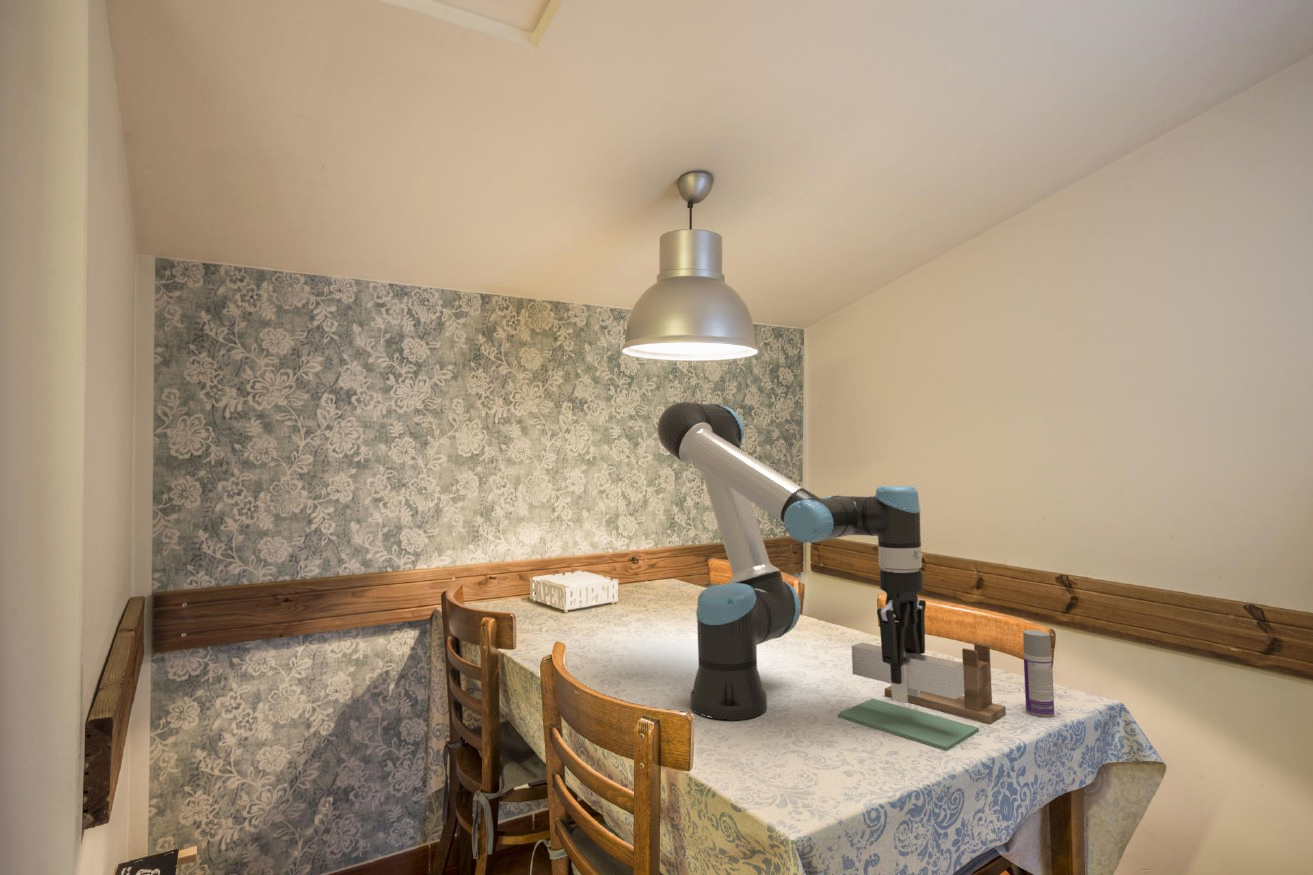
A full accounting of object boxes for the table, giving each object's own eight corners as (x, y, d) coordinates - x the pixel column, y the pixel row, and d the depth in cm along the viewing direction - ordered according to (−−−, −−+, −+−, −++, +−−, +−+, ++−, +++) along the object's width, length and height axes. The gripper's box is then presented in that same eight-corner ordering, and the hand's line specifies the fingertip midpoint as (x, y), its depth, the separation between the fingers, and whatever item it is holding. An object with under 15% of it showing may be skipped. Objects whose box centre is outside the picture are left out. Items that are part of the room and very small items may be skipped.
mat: (946, 750, 111) (946, 746, 111) (838, 716, 127) (838, 713, 127) (978, 730, 119) (978, 727, 119) (872, 701, 135) (872, 698, 135)
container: (1028, 706, 130) (1025, 628, 131) (1056, 711, 127) (1052, 631, 128) (1023, 713, 127) (1020, 633, 127) (1052, 719, 124) (1048, 636, 124)
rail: (954, 699, 115) (953, 667, 115) (852, 674, 130) (851, 645, 130) (964, 694, 117) (963, 662, 117) (863, 670, 132) (861, 642, 132)
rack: (989, 724, 122) (986, 654, 123) (884, 695, 138) (882, 634, 138) (1005, 714, 127) (1003, 647, 127) (902, 687, 142) (900, 628, 143)
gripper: (895, 576, 116) (901, 714, 115) (941, 566, 127) (947, 691, 126) (857, 572, 122) (862, 703, 121) (904, 562, 133) (910, 682, 131)
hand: (905, 697), depth 123 cm, fingers closed on rail, 4 cm apart
